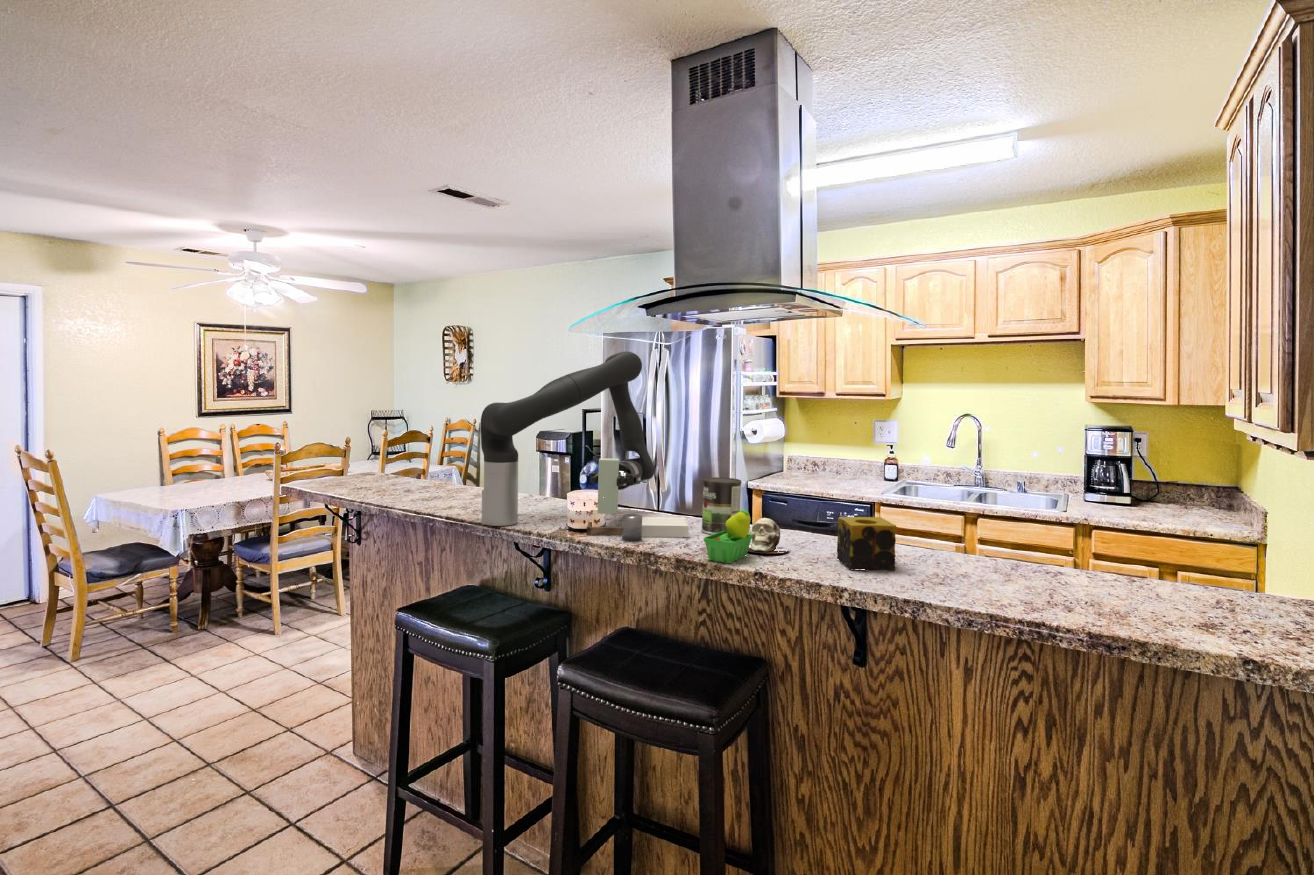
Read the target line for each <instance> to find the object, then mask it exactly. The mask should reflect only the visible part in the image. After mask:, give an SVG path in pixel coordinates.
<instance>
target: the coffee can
mask: <svg viewBox="0 0 1314 875" xmlns="http://www.w3.org/2000/svg"><path fill="white" fill-rule="evenodd" d="M702 483H703V484H702V485H703V486H702V513H701V514H702V515H701V516H702V518H701V520H702V521H701V532H702V533H703V532H704V533H703V534H707V535H713V534H716V533H719V532H721V531H727V529H726V526H725V523H726V521H727V520H728V519H730V517H732V516H734V515H735V514H737V513H738V512H739V511H740V510H741V497H742V496H741V492H742V480H741V479H738V478H731V477H704V478H703V479H702Z"/></svg>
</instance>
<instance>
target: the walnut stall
mask: <svg viewBox="0 0 1314 875" xmlns="http://www.w3.org/2000/svg"><path fill="white" fill-rule="evenodd" d="M586 536H621V537H622V526H593V527H592V522H589V521H588V523H587V526H586Z"/></svg>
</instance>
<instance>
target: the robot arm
mask: <svg viewBox="0 0 1314 875" xmlns="http://www.w3.org/2000/svg"><path fill="white" fill-rule="evenodd" d="M642 369H643V362H642V359H641V358H640V356H639V355H638V354H636V353H634V352H631V351H626V350H625V351H621V352H617V353H615V354H612V355H610V356H608V357H607V358H606V359H605V361H604V362H603V363H601V364H599V365H596V366H592V367H587V368H585V369H581V370H576V371H574V372H570V373H568V374H565V375H563V376H560V377H558V378H555V379H553V380H551V381H550V382H548V383H546V384H545V385H544V386H542V387H541V388H540V389H539V390H537V391H536V392H534V393H533V394H530V395H529V396H526V397H524V398H520V399H517V400H514V401H511V402H510V401H509V402H492V403H489V404H488V405H486V406H485V408H484V409H483V410H482V412H481V416H480V447H481V452H482V454H483V489H482V490H481V525H483V526H484V525H487V526H494V527H501V526H502V527H503V526H505V527H506V526H513V525H516V524H518V523H519V522H518V521H519V520H518V519H519V518H518V517H519V513H518V512H519V452H518V450H517V449H516V447H515V444H514V440H513V439H514V438H513V436H514V435H517V434H519V433H520V432H521V431H524V430H525V429H527V428H529V427H530V426H532V425H533V424H536V423H537V422H539V421H541V420H543V419H546V418H548V417H551V416H554V415H557V414H559V413H561V412H564V411H567V410H569V409H572V408H573V407H576V406H579V405H580V404H582V403H584V402H586V401H588V400H590V399H592V398H593V397H596V396H597V395H599V394H600V393H602V392H604V391H605V390H606V391H607V390H609V393H610V397H611V399H612V403H613V406H614V409H615V413H616V417H617V423H618V428H619V429H618V430H619V435H620V441H621V447H622V449H623V451H624V452H625V451H626V452H635V453H636V454H638V456H639V457H633V458H628V459H624V460H622V461H619V477H618V478H617V486H618V491H620V490H621V491H622V490H624V489H627V488H629V487H632V486H637V485H639V484H641V481H647V480H651V479H652V478H653V477H654V475H655V472H656V471H655V465H654V462H653V460H652V458H651V456H650V454H649V451H648V448H647V446H646V443H645V436H644V431H643V430H644V429H643V425H642V421H641V417H640V416H639V414H638V411H637V410H636V407H635V406H634V403H633V402H632V398H631V396H630V391H629V382H632V381H634V380H636V378H638V377H639V376H640V375H641V372H642ZM598 472H599V471H596V470H594V471H592V472H591V473H589V483H590V484H592V485H597V486H598Z"/></svg>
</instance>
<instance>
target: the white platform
mask: <svg viewBox="0 0 1314 875" xmlns="http://www.w3.org/2000/svg"><path fill="white" fill-rule="evenodd" d="M689 528H690V526H689V524H688V522H687V519H686V518H685V517H676V516H675V517H671V516H670V517H669V516H667V517H666V516H665V517H664V516H642V538H683V537H688V538H689Z"/></svg>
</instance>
